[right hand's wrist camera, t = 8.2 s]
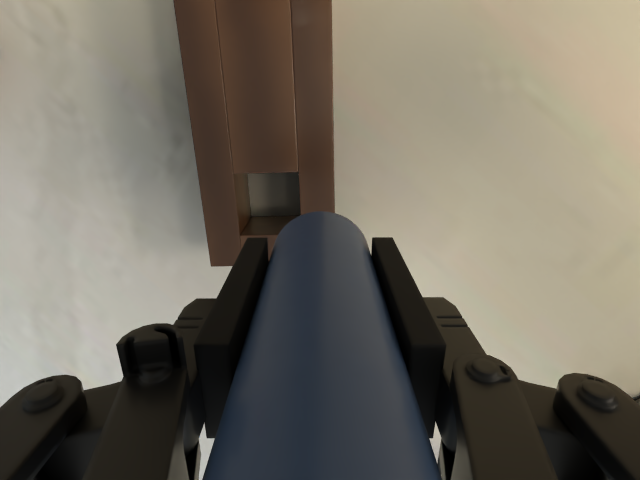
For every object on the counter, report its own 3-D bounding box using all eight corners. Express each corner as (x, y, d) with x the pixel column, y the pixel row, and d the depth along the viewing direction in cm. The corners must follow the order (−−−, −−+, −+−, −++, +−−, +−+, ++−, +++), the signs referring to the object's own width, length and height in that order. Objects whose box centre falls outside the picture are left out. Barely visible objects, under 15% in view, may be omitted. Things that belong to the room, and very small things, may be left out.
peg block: (327, -134, 25) (329, -232, 18) (333, 241, 35) (336, 280, 27) (180, -128, 25) (120, -223, 18) (225, 244, 35) (199, 283, 27)
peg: (371, 210, 15) (524, 561, 4) (366, 299, 16) (467, 743, 5) (270, 210, 15) (121, 561, 4) (274, 299, 16) (176, 744, 5)
